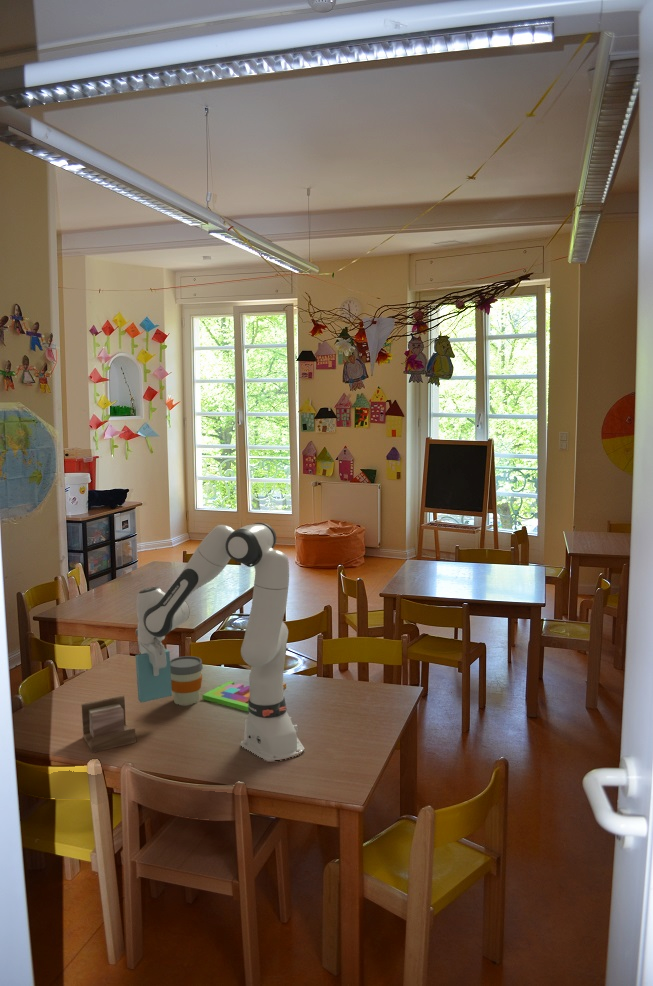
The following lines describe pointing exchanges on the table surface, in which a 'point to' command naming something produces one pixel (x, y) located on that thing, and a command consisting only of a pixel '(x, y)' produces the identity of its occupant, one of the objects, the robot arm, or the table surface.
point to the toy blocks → (231, 695)
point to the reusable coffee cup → (186, 679)
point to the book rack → (106, 724)
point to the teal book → (152, 679)
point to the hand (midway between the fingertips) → (153, 673)
